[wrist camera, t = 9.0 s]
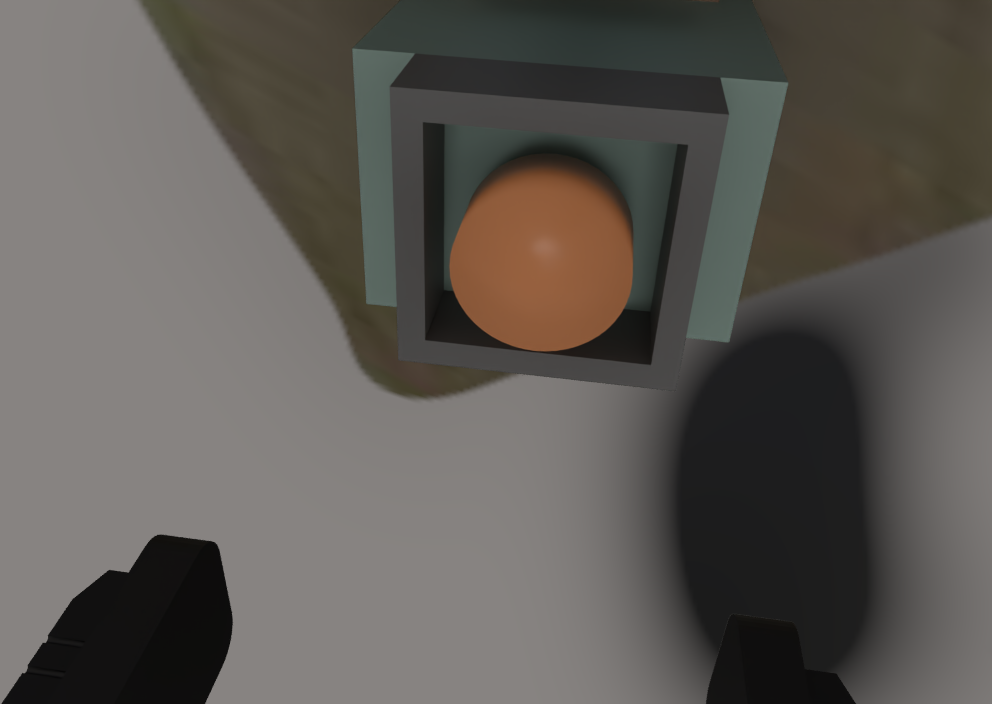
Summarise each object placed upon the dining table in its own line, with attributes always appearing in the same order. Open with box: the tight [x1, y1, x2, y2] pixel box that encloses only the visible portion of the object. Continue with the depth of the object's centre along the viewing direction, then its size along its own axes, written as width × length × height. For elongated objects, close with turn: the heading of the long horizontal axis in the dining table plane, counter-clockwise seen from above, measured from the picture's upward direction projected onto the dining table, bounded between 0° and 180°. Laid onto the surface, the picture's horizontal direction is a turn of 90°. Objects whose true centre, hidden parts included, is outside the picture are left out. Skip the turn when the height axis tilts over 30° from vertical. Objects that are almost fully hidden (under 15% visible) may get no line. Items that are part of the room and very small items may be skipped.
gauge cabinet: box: [352, 0, 788, 391], centre depth 25 cm, size 7×10×12 cm, turn 88°
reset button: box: [449, 153, 634, 351], centre depth 20 cm, size 4×4×2 cm
